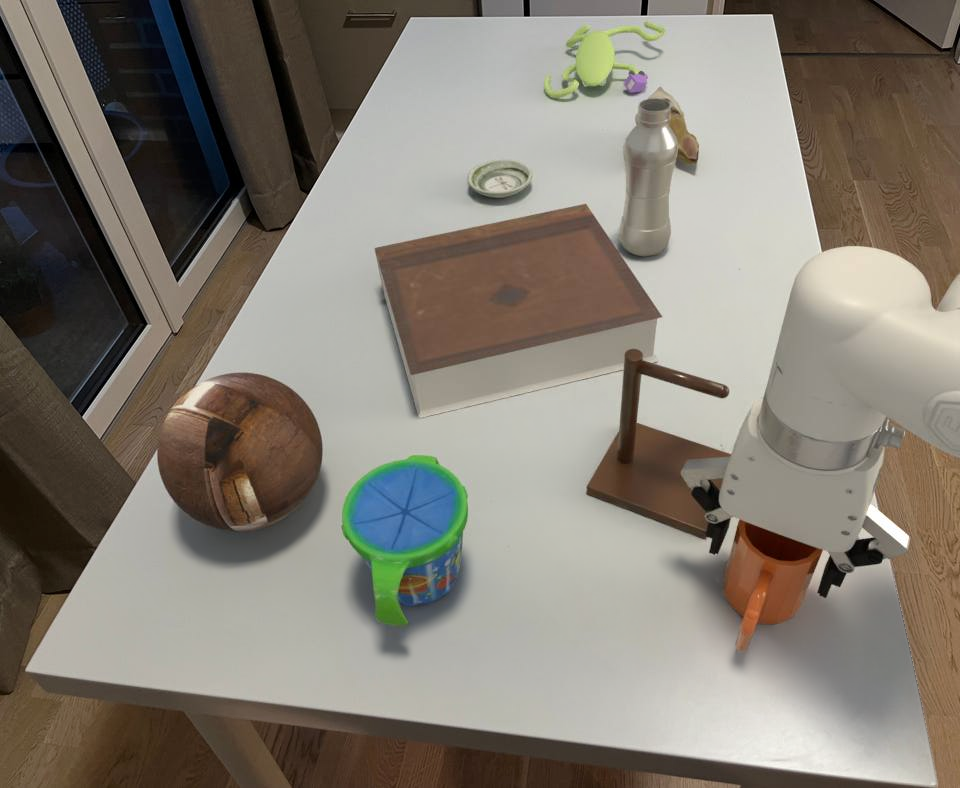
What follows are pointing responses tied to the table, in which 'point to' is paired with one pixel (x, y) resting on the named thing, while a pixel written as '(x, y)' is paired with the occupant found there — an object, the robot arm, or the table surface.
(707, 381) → the mug stand
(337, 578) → the table surface
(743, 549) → the mug
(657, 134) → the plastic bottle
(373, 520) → the snack cup
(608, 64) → the figurine
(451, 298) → the book
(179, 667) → the table surface
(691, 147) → the ceramic sculpture
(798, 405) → the robot arm
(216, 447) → the wooden sphere
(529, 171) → the saucer
